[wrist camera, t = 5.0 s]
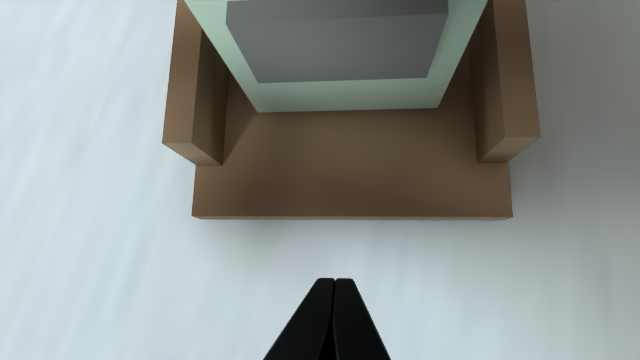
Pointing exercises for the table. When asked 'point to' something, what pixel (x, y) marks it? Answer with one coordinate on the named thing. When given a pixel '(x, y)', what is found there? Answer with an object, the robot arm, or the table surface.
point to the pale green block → (340, 50)
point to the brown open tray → (357, 137)
